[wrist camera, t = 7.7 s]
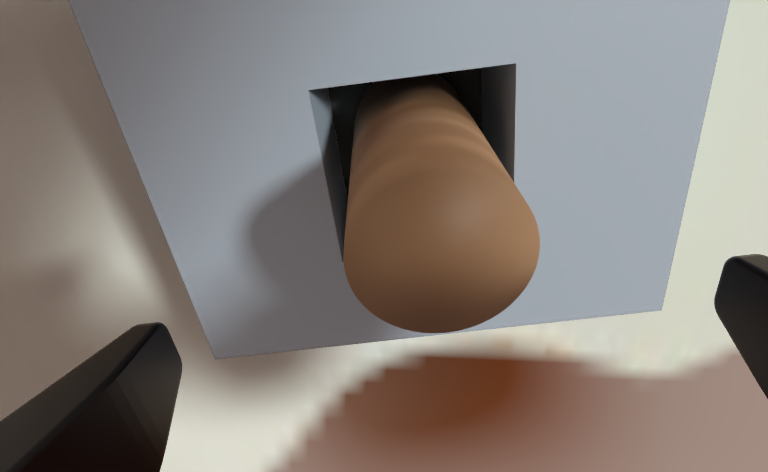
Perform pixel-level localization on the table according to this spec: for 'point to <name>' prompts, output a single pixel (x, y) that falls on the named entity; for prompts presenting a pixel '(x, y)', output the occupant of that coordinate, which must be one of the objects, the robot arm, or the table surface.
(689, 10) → the socket block
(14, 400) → the table surface
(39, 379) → the table surface
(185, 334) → the table surface
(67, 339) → the table surface
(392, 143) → the peg
